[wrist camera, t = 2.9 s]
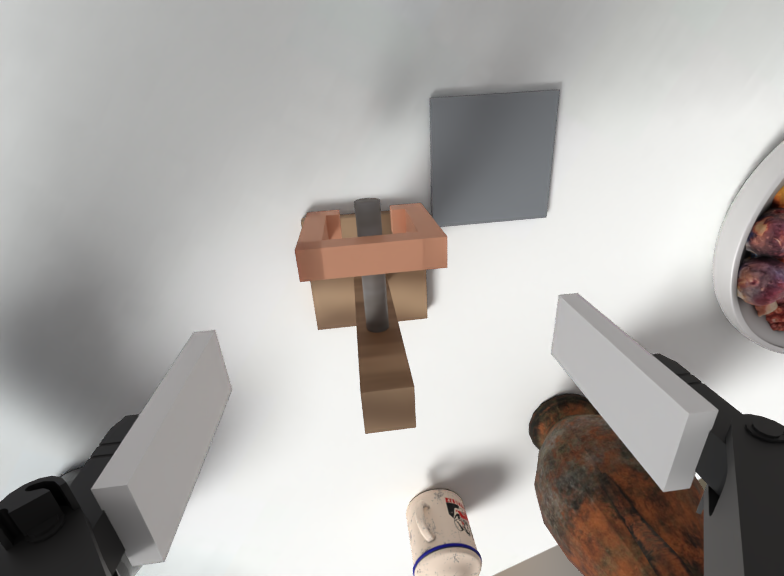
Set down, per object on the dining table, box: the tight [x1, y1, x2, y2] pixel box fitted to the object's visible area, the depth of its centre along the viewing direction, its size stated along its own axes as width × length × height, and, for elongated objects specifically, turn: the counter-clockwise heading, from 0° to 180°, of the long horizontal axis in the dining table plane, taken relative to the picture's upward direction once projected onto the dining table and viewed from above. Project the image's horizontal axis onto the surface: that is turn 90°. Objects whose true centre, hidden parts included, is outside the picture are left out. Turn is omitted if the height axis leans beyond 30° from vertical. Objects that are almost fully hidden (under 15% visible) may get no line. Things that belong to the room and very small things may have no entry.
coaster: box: [430, 90, 560, 227], centre depth 39 cm, size 12×12×1 cm
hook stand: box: [301, 198, 427, 434], centre depth 32 cm, size 16×12×22 cm
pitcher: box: [529, 394, 704, 576], centre depth 41 cm, size 17×21×30 cm
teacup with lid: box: [406, 489, 482, 576], centre depth 54 cm, size 12×9×12 cm
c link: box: [295, 203, 447, 282], centre depth 28 cm, size 9×2×9 cm, turn 93°
